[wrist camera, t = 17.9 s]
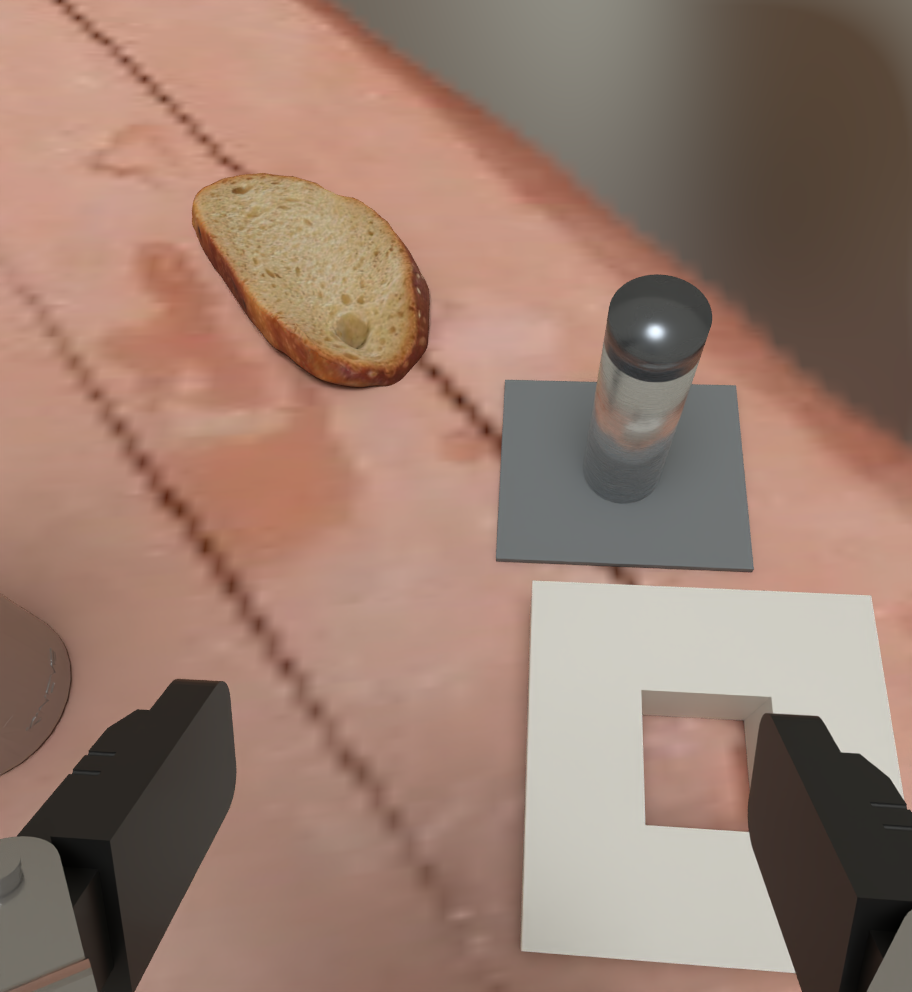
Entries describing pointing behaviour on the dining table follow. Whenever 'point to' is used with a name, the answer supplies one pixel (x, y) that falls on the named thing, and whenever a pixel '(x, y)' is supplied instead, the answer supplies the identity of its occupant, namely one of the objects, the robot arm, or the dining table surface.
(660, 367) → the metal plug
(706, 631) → the socket housing
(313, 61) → the dining table surface
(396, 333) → the slice of bread
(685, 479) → the rubber mat
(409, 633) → the dining table surface
